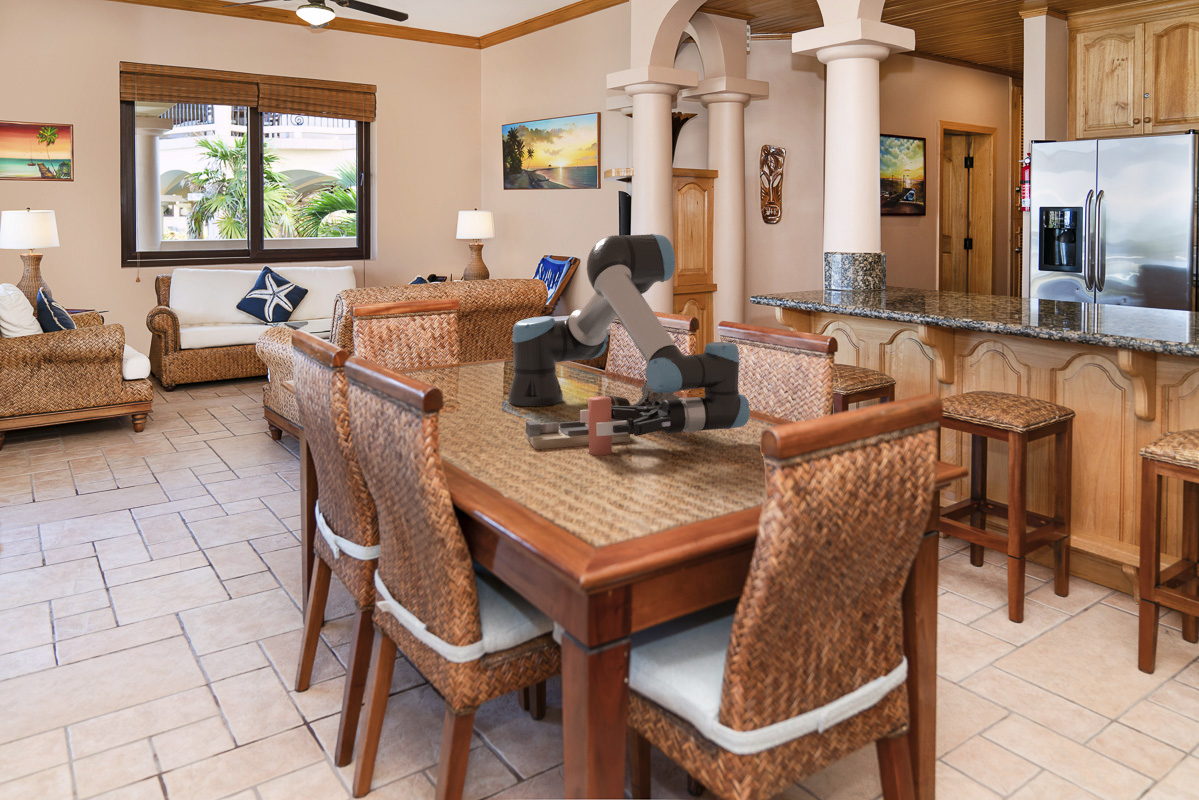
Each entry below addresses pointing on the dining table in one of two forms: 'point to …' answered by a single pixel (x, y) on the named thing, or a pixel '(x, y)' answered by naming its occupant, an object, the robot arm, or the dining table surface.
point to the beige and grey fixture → (563, 434)
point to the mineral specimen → (653, 397)
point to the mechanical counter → (619, 401)
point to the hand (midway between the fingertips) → (588, 422)
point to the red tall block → (596, 414)
